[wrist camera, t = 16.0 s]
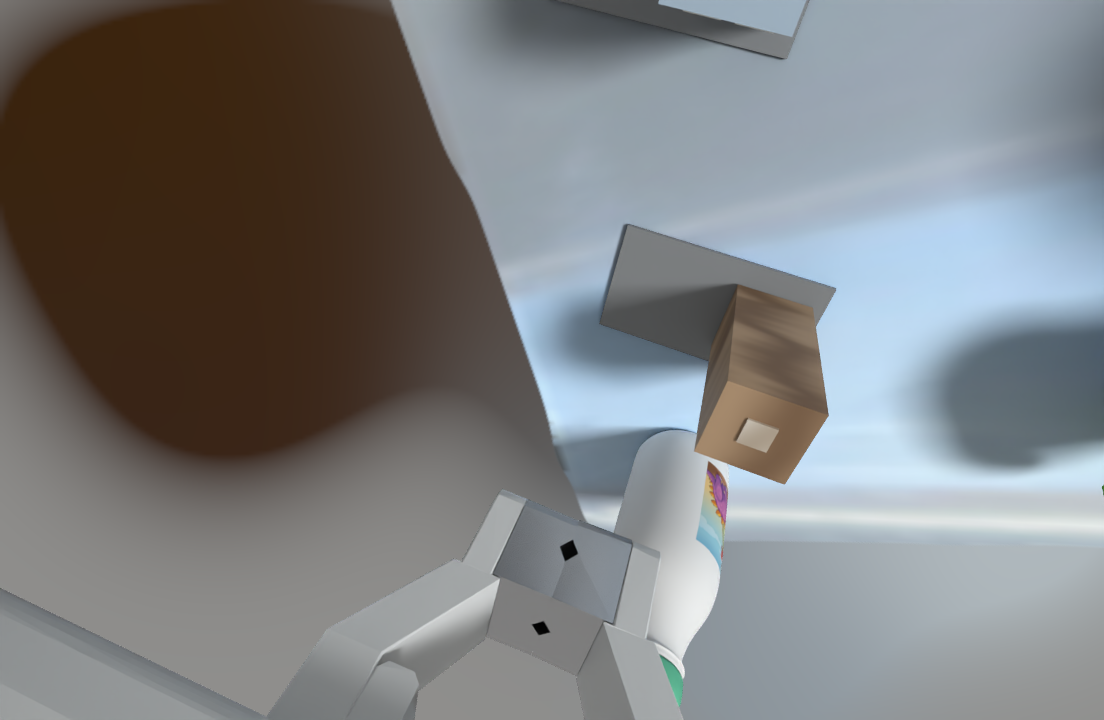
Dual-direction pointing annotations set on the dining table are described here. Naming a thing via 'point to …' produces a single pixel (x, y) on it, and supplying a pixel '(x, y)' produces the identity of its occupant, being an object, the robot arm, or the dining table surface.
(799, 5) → the rectangular block
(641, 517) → the milk bottle
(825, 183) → the dining table surface
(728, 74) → the dining table surface
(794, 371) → the wooden box
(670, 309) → the grey rectangular plate
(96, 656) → the robot arm
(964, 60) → the dining table surface
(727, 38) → the grey flat block
